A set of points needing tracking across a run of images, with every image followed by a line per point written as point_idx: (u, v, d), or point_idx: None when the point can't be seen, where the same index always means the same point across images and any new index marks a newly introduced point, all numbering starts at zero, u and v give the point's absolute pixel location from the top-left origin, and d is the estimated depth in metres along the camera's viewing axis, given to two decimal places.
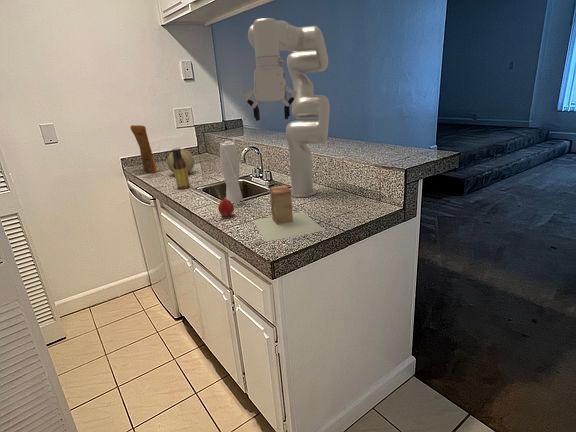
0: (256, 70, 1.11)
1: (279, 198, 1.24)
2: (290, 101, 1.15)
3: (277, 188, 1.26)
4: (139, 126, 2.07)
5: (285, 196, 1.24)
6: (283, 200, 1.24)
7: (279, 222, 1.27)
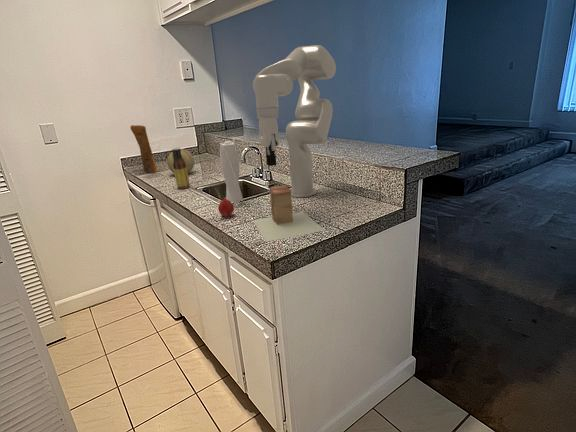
0: (276, 118, 1.22)
1: (279, 198, 1.24)
2: None
3: (277, 188, 1.26)
4: (139, 126, 2.07)
5: (285, 196, 1.24)
6: (283, 200, 1.24)
7: (279, 222, 1.27)
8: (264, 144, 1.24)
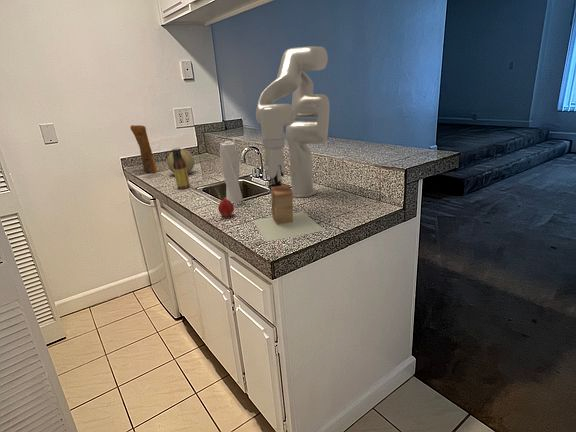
0: None
1: (280, 199, 1.22)
2: None
3: (278, 188, 1.24)
4: (139, 126, 2.07)
5: (286, 197, 1.23)
6: (284, 201, 1.23)
7: (279, 222, 1.26)
8: (270, 175, 1.24)
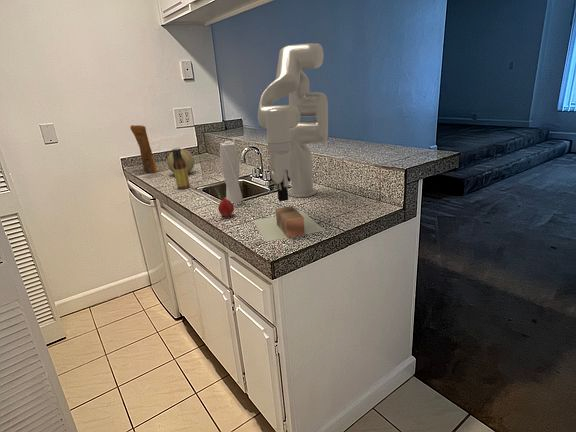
0: (289, 153, 1.15)
1: None
2: None
3: (293, 225, 1.15)
4: (139, 126, 2.07)
5: None
6: None
7: None
8: (276, 180, 1.18)
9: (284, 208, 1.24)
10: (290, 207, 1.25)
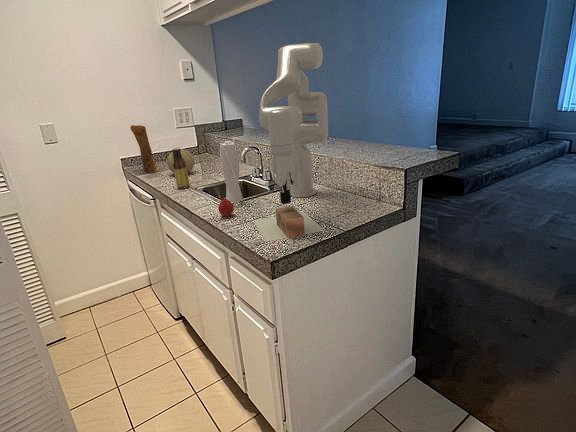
0: (292, 155, 1.13)
1: None
2: None
3: (293, 225, 1.15)
4: (139, 126, 2.07)
5: None
6: None
7: None
8: (278, 183, 1.15)
9: (284, 208, 1.24)
10: (290, 207, 1.25)
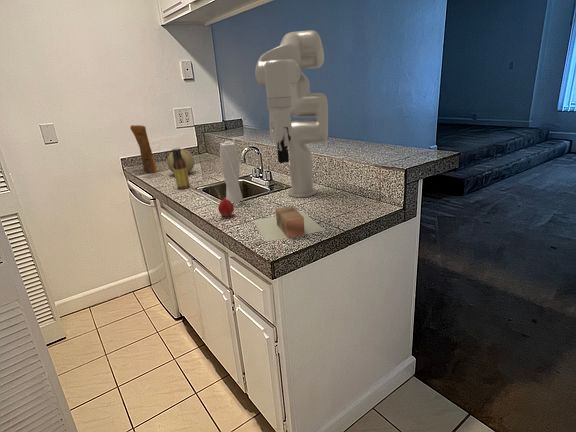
0: (289, 109, 1.08)
1: None
2: None
3: (293, 225, 1.15)
4: (139, 126, 2.07)
5: None
6: None
7: None
8: (276, 139, 1.10)
9: (284, 208, 1.24)
10: (290, 207, 1.25)
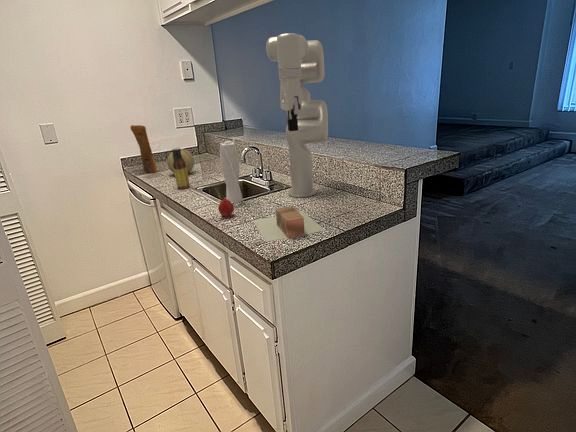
0: (299, 80, 1.18)
1: None
2: None
3: (293, 225, 1.15)
4: (139, 126, 2.07)
5: None
6: None
7: None
8: (286, 107, 1.20)
9: (284, 208, 1.24)
10: (290, 207, 1.25)
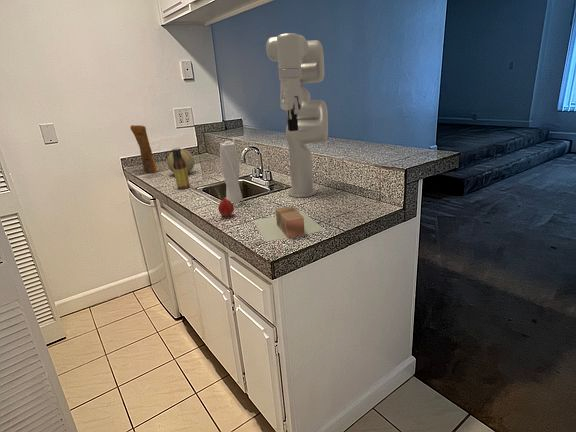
0: (299, 80, 1.18)
1: None
2: None
3: (293, 225, 1.15)
4: (139, 126, 2.07)
5: None
6: None
7: None
8: (286, 107, 1.20)
9: (284, 208, 1.24)
10: (290, 207, 1.25)
